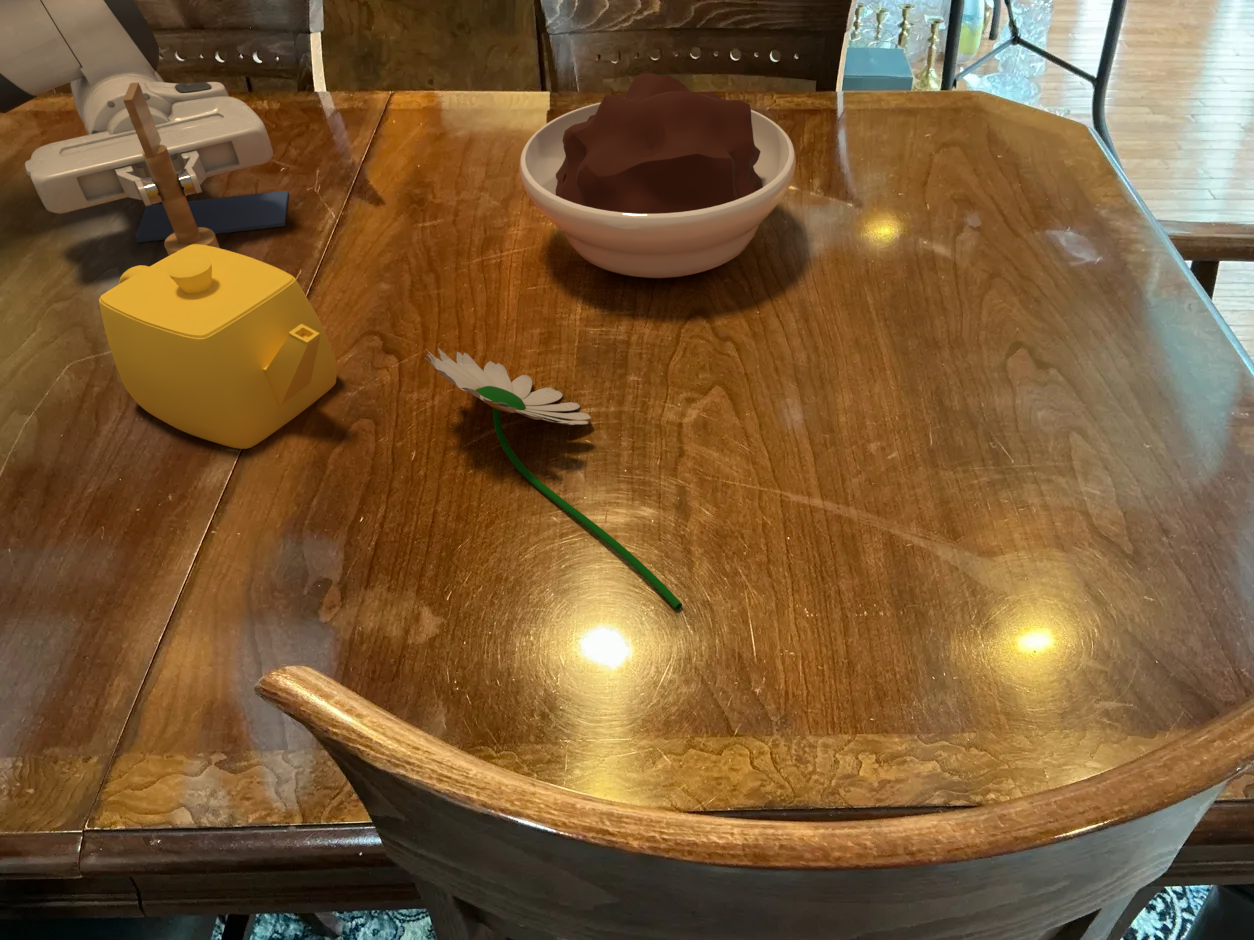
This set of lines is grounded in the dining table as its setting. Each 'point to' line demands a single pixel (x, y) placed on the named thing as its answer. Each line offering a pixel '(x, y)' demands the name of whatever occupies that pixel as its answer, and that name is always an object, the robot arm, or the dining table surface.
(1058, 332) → the dining table surface
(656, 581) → the flower
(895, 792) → the dining table surface
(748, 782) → the dining table surface
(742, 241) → the bowl of brown chunks
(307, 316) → the teapot
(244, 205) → the blue-grey rectangular slab
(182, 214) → the wooden peg
